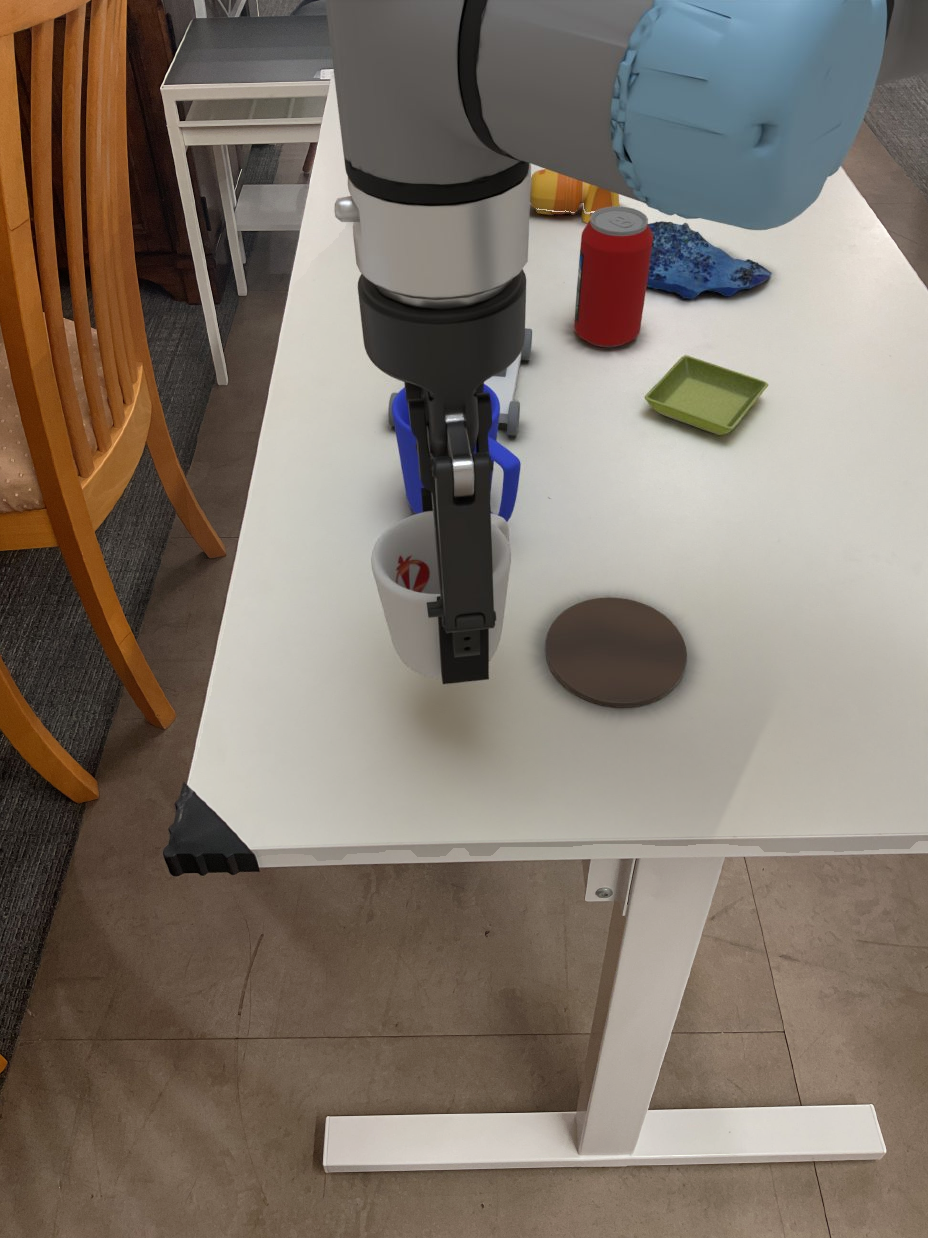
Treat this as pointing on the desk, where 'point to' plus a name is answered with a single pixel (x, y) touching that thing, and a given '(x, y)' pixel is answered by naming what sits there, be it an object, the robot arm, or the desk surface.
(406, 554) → the cup
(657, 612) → the coaster
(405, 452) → the mug
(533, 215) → the desk surface
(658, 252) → the rock
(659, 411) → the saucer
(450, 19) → the robot arm
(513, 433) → the toy car
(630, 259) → the beverage can
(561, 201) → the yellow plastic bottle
